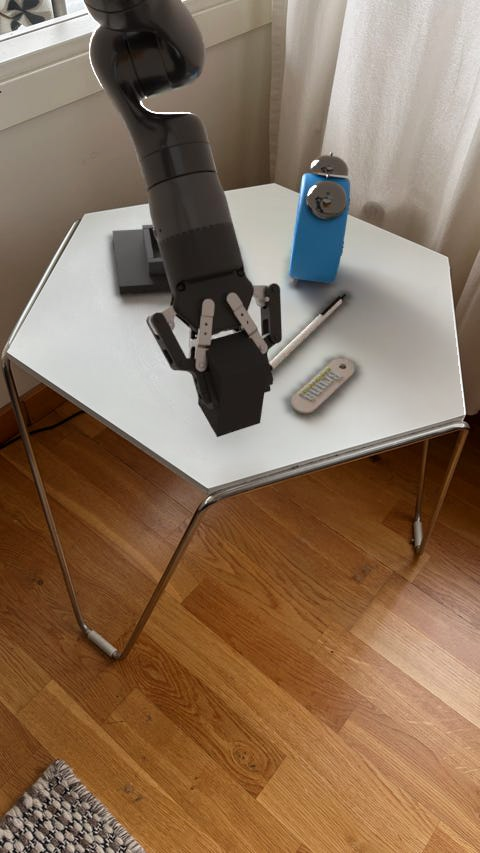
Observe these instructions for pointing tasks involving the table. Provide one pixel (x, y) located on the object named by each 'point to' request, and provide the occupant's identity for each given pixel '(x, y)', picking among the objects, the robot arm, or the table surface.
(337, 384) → the keychain
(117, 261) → the base pad
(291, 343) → the pen
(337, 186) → the alarm clock
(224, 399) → the pad block
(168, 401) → the table surface
